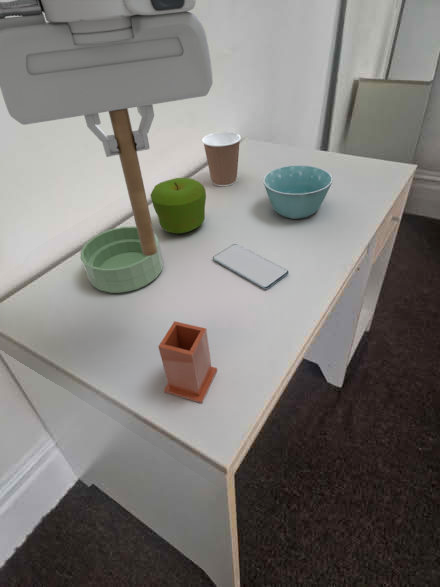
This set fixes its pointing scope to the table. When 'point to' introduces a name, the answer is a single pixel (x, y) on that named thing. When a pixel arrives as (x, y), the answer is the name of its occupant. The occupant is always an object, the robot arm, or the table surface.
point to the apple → (179, 204)
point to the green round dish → (119, 261)
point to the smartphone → (251, 266)
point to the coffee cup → (222, 157)
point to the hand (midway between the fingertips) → (127, 151)
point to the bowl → (297, 189)
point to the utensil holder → (187, 361)
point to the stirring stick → (133, 179)
